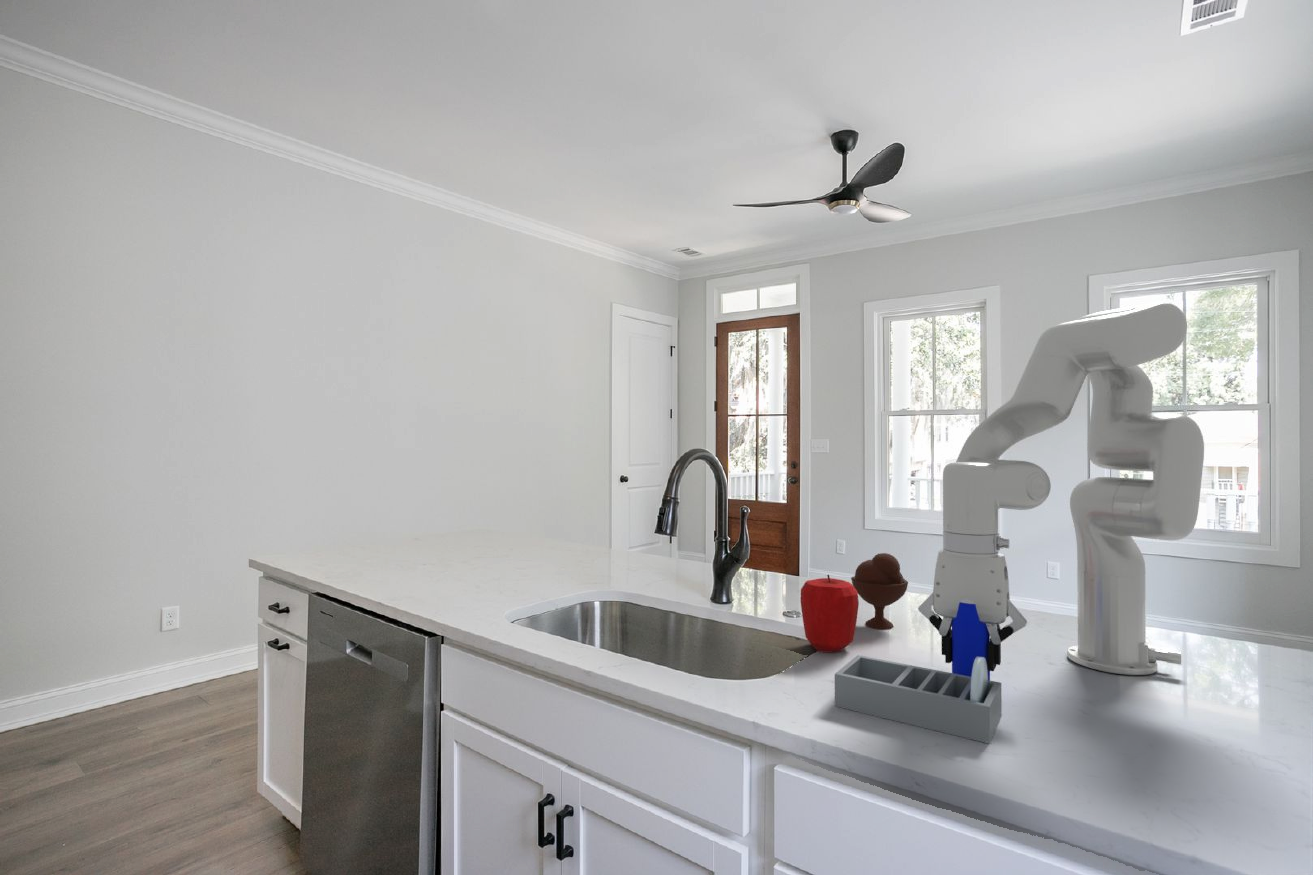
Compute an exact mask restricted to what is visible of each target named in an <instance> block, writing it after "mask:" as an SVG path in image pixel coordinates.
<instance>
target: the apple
mask: <svg viewBox="0 0 1313 875" xmlns="http://www.w3.org/2000/svg"><path fill="white" fill-rule="evenodd" d="M826 576H827V577H826V578H823V577H821V578H816V579H810V580H805V582H804V584H803V585H802V587H801V588H800V608H801V615H802V617H801V618H802V621H803V623H802V624H803V629H804V636H805V638H806V640H807V641H808V642H809V644H811V646H812V647H813V648H814V650H816V651H818V652H821V651H822V652H823V653H837V652H840V651H843V650H844V649H846V648H847V647H848V646H849V645H850V644H852V643H853V641H854V639H855V633H856V626H857V621H858V620H857V619H858V613H859V612H858V611H859V604H860V603H859V602H860V601H859V594H858V592H857V591H856V589H855V588H854V586H853V585H852V582H849V581H846V580H842V579H838V578H830V574H827V575H826Z"/></svg>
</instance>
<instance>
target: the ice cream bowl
mask: <svg viewBox="0 0 1313 875" xmlns="http://www.w3.org/2000/svg"><path fill="white" fill-rule="evenodd" d="M900 564H901V563H899V560H898V559H897V558H896V557H895V556H894V555H892V554H891V553H887V552H883V553H877V554H875V555H874V556H873V557H872V559H866V560H865V561H863V562H860V564H858V566H857V567H856V569H855V573H854V575H853V576H851V577H850V579H851V584H852V585H853V586H854V588H855V589H856V591H857V592H858V596H860V598H862V600H863V601H864V602H865V603H867V604H870V605H872V606H873V608H874V617H871V618H870V619H869V620H866V621H865V626H866V627H868V628H871V629H876V630H891V629H893V628H894V624H893V623H892V621H890V620H888V619H887V618H886V617H885V614H884V611H885V608H886V607H887V606H890V605H892V604H894V603H896V602H897V601H899V600H900V599H902V598H903V596H904V595H905V594H906V591H907V589H908V584H909V581H907V579H905V578H904V576H903V574H902V572H901V566H900Z"/></svg>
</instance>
